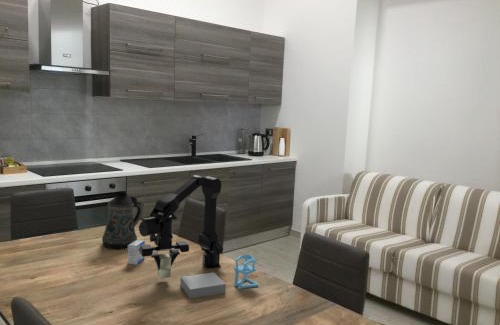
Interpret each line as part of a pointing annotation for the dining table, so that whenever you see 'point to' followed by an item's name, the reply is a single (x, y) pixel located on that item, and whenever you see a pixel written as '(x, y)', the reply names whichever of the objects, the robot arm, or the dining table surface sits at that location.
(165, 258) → the sage block
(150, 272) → the dining table surface
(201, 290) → the grey block
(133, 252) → the medicine box
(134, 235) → the beer stein
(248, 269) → the light blue lattice frame
